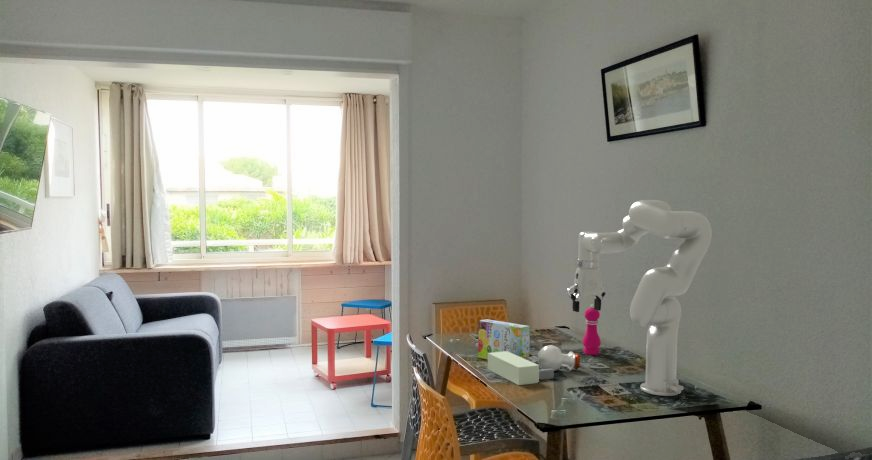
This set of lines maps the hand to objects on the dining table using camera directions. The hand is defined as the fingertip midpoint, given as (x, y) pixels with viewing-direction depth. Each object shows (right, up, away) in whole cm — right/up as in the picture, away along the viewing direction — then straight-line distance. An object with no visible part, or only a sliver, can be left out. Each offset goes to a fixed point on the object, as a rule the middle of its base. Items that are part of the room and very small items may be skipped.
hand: (586, 310), depth 237 cm
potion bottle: (-12, -22, -4) cm, 25 cm away
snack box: (-30, -21, +9) cm, 38 cm away
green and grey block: (-26, -21, -10) cm, 35 cm away
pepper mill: (+7, -20, +23) cm, 31 cm away
